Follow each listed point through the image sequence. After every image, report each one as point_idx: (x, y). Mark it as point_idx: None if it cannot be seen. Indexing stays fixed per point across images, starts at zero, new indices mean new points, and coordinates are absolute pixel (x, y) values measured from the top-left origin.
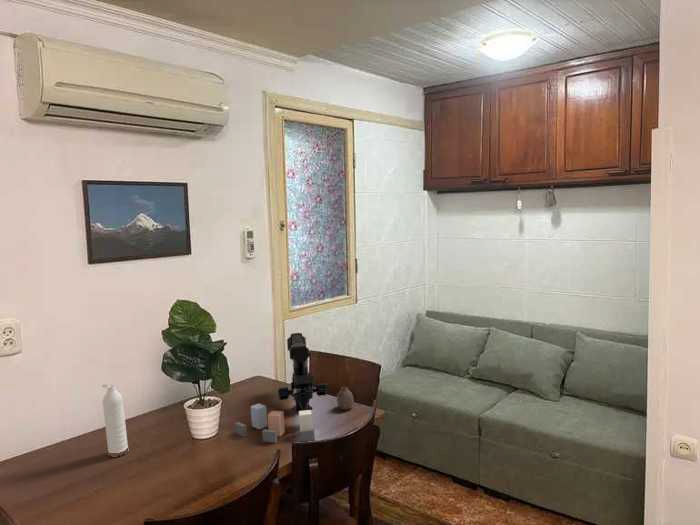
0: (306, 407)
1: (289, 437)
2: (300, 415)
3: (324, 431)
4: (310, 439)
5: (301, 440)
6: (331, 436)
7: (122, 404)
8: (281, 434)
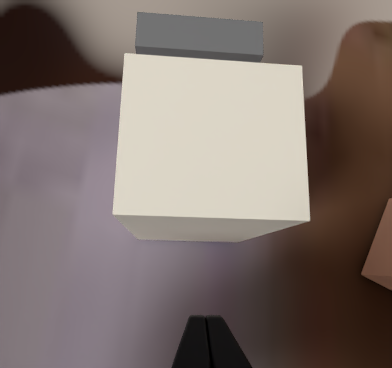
0: (172, 366)
1: (319, 176)
2: (285, 65)
3: (40, 199)
4: None
5: None
6: (8, 97)
7: None
8: (385, 218)
